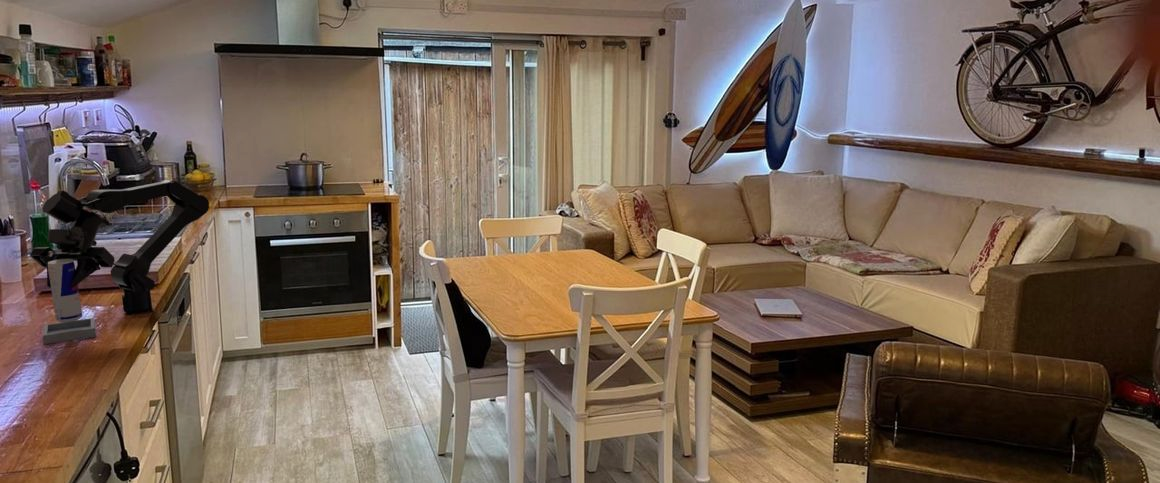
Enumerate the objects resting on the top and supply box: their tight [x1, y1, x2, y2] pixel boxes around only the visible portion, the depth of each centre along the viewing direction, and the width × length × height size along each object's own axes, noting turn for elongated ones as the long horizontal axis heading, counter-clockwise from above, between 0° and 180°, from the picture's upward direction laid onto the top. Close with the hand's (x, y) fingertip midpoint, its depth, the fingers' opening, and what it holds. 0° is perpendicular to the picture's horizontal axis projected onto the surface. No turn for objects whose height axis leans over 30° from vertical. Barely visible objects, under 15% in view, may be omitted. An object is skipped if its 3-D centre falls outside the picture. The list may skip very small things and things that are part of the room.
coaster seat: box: [42, 317, 97, 345], centre depth 208 cm, size 11×11×2 cm
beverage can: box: [48, 259, 83, 323], centre depth 207 cm, size 6×6×15 cm
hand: (60, 286), depth 205 cm, fingers closed on beverage can, 5 cm apart
